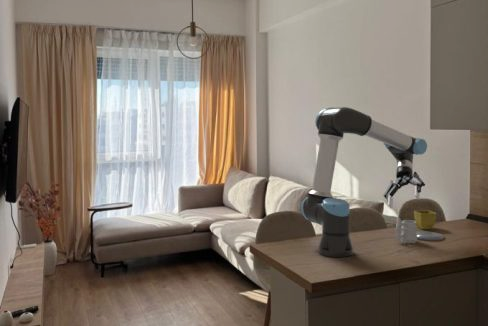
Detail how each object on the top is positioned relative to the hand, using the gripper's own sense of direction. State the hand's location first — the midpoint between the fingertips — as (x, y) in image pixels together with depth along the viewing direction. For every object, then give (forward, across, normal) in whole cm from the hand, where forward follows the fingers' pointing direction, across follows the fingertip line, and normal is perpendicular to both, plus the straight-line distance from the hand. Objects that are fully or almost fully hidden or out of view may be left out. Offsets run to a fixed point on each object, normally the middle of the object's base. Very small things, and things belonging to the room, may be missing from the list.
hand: (403, 202), depth 212 cm
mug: (+7, +9, -18) cm, 22 cm away
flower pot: (-20, +11, -40) cm, 46 cm away
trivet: (-4, +4, -30) cm, 30 cm away
